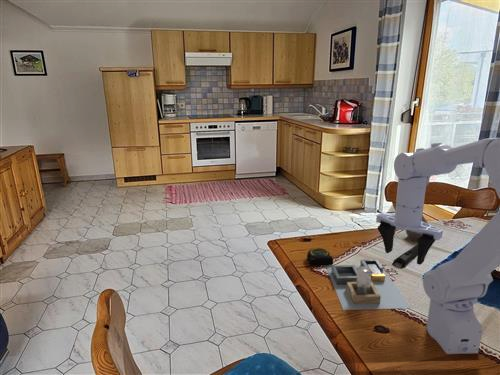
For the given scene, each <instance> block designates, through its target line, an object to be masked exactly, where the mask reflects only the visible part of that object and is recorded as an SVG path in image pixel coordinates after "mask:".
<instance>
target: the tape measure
mask: <svg viewBox="0 0 500 375" xmlns="http://www.w3.org/2000/svg"><path fill="white" fill-rule="evenodd" d="M330 254H331V253H330V252H329V250H327V249H326V248H322V247H315V248H311V249H309V250H308V251H307V254H306V258H307V262H308V265H309V266H311V267H317V266H318V267H320V266H323V267H324V266H333V265H334V260H333V256H332V255H330Z"/></svg>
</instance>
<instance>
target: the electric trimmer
mask: <svg viewBox="0 0 500 375" xmlns="http://www.w3.org/2000/svg"><path fill="white" fill-rule="evenodd" d="M417 257H418V243H417V244H416V245H414V246H412V248H409V250H407V251H405V252H403V253H402V254H401V255H399V256H398V257H396V258H395V259H394V260H393V261H392V263H391V265H393V266H396V267H399V268H401V269H404V268H406V267H407V264H408V263H409V262H411V261H412V260H414V259H417Z"/></svg>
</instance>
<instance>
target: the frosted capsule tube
mask: <svg viewBox="0 0 500 375" xmlns="http://www.w3.org/2000/svg"><path fill="white" fill-rule="evenodd" d="M370 284H371V269H370V268H368V267H359V268H357V283H356V295H370Z"/></svg>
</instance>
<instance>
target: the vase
mask: <svg viewBox="0 0 500 375" xmlns="http://www.w3.org/2000/svg"><path fill="white" fill-rule="evenodd" d="M422 222H424V223H427V224H429V223H428V221H427V220H426V218H425V216H424V214H423V215H422ZM405 233H406V235H407V238H408V239H410V240H412V241H417V242H418V238H419V237H421V236H423V234H420V233H416V232H413V231H409V230H405Z"/></svg>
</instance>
